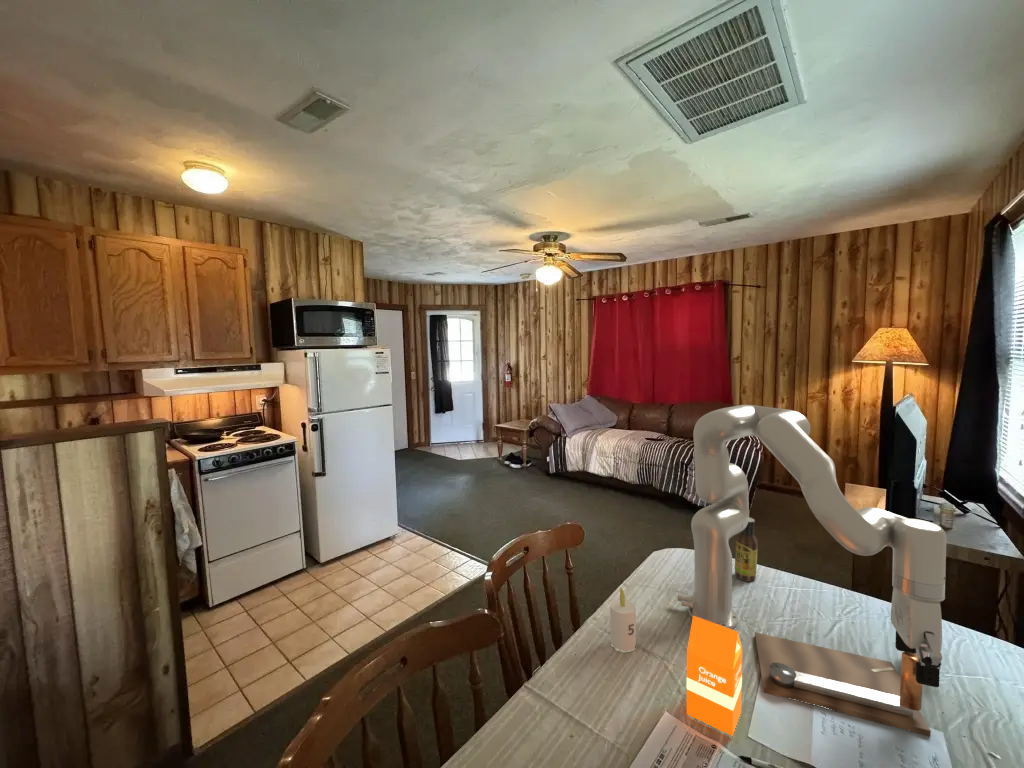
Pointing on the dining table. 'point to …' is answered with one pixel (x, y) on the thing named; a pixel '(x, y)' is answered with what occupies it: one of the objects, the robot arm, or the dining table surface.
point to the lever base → (835, 679)
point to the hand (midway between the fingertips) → (915, 666)
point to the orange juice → (714, 675)
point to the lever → (901, 705)
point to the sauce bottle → (746, 553)
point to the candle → (623, 623)
